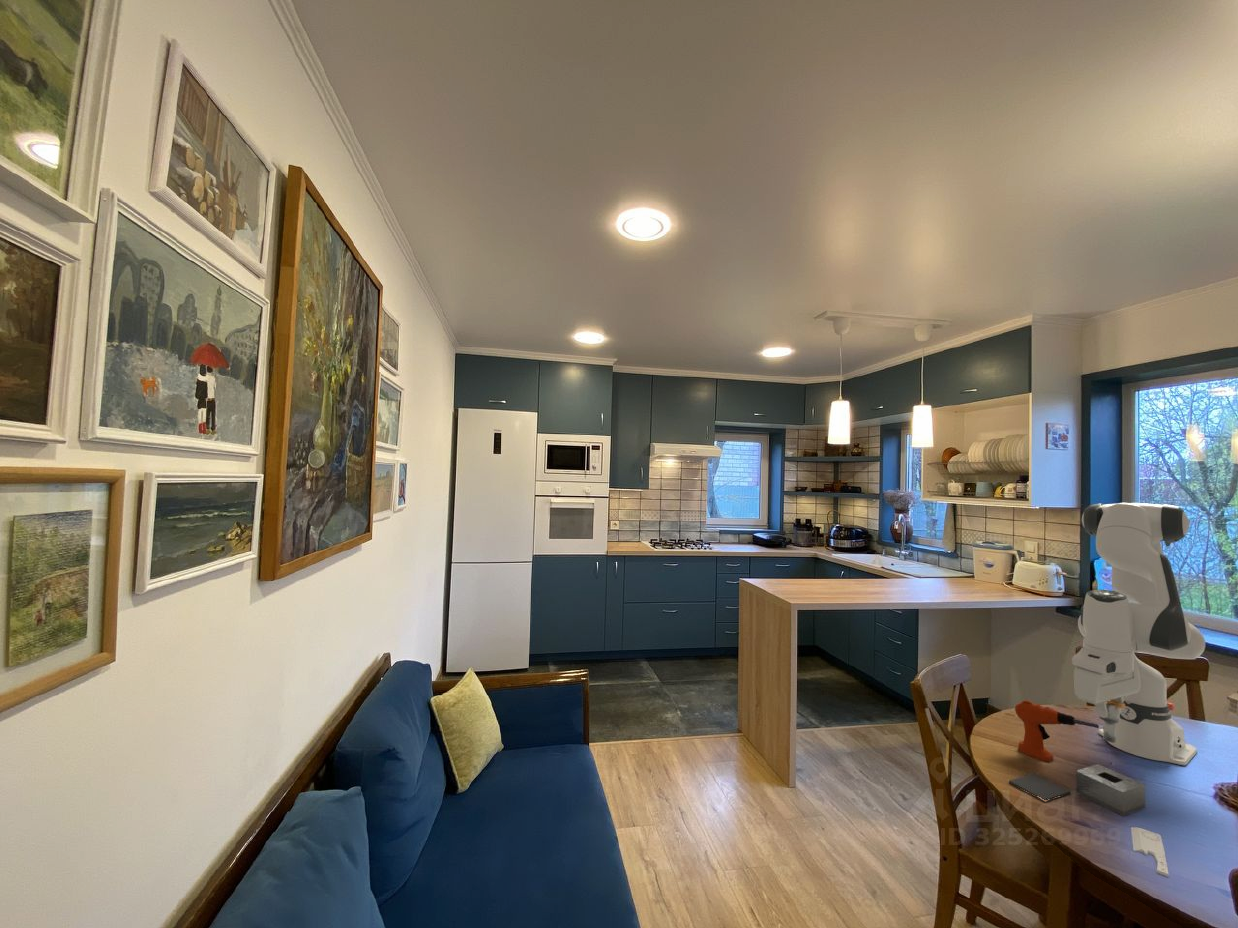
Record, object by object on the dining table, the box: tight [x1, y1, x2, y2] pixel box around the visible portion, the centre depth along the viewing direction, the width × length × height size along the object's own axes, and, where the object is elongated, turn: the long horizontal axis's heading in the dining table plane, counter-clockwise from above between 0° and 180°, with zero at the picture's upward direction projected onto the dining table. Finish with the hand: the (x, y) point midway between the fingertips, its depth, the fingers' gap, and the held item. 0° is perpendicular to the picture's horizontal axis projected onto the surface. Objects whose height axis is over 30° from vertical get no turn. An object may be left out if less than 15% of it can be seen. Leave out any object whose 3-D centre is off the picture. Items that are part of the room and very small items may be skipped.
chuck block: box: [1075, 763, 1146, 817], centre depth 121 cm, size 9×9×6 cm
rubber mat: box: [1008, 772, 1071, 800], centre depth 125 cm, size 10×8×1 cm
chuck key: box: [1098, 699, 1125, 743], centre depth 121 cm, size 4×6×10 cm, turn 21°
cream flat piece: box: [1130, 826, 1170, 878], centre depth 105 cm, size 5×15×1 cm, turn 136°
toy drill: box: [1014, 699, 1100, 762], centre depth 137 cm, size 5×19×15 cm, turn 34°
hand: (1109, 714), depth 121 cm, fingers closed on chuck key, 4 cm apart
